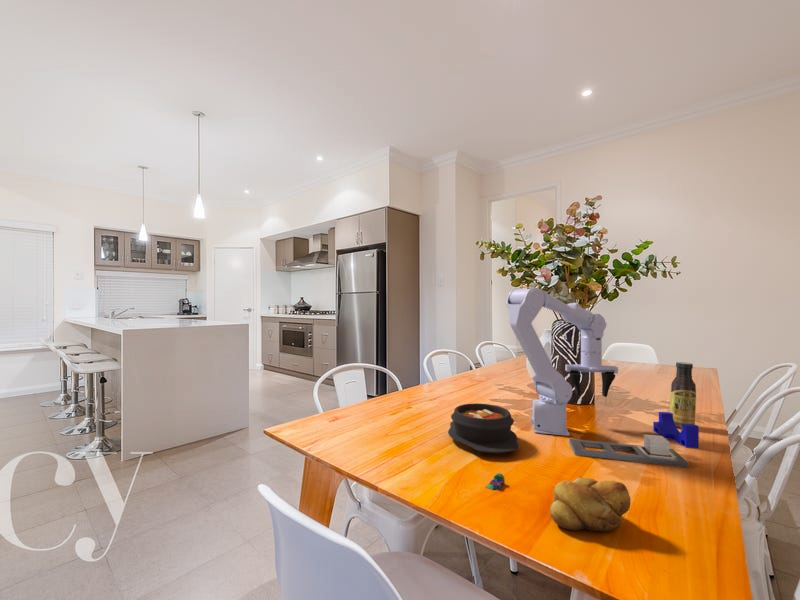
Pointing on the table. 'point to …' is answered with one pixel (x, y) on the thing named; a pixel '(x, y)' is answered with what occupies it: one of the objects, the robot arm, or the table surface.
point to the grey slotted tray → (636, 449)
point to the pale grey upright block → (656, 445)
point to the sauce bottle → (683, 395)
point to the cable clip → (669, 431)
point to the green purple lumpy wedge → (496, 482)
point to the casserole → (483, 428)
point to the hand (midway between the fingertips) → (591, 395)
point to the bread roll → (589, 504)
